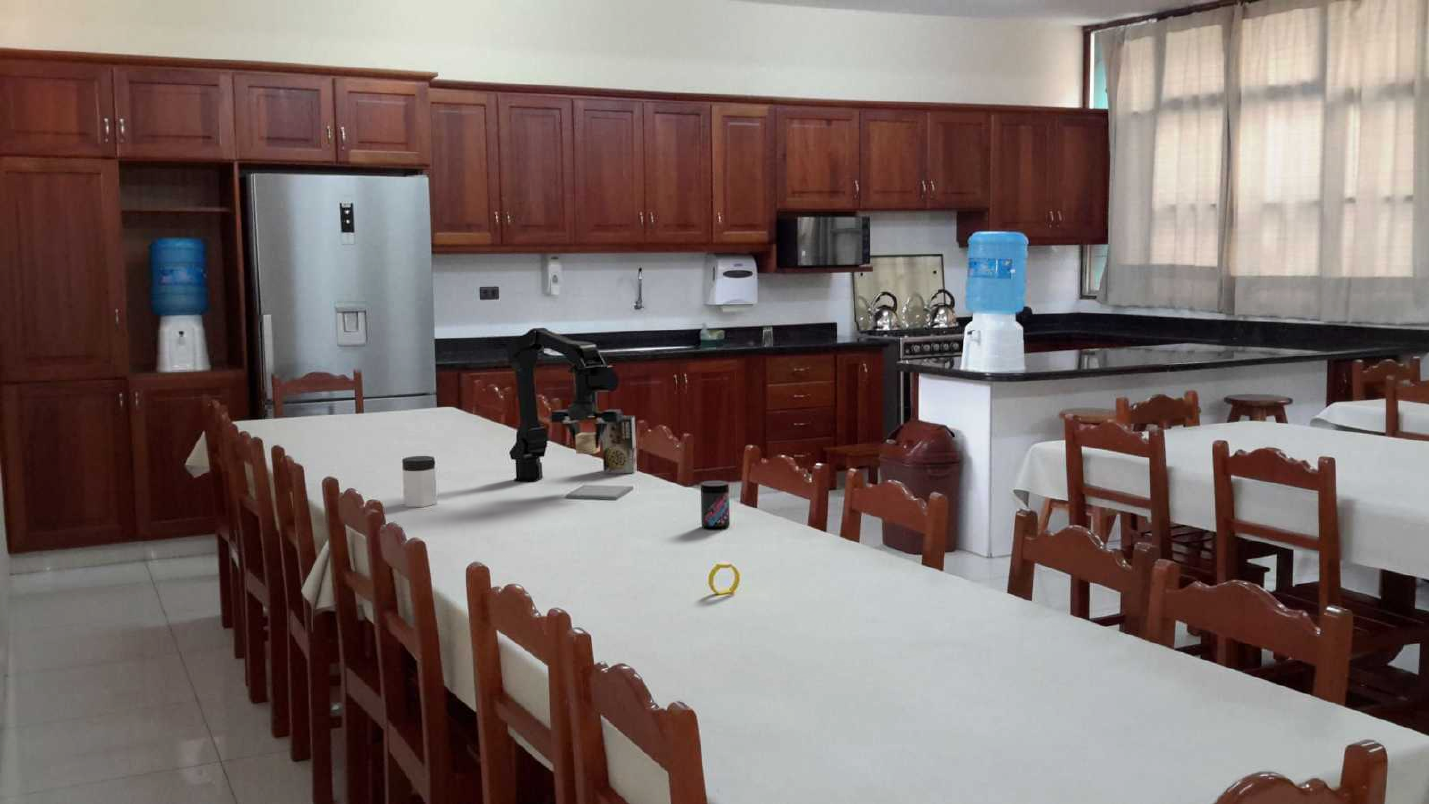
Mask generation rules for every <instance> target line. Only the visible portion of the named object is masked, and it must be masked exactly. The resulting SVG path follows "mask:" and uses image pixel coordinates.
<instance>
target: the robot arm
mask: <svg viewBox="0 0 1429 804" xmlns="http://www.w3.org/2000/svg"><path fill="white" fill-rule="evenodd" d="M544 348H547V349H549V350H552V351H554V352H556V353H559V354H561V355H563V356H564V358H565V360H566V361H567V362H569V363H570V364H572V366H571V367H570V368H569V369H568V370H567V372H568V374H573V382H574V383H573V386H574V387H573V388H574V395H573V397H572V398H573V399H572V403H571V404H570V405H569V406H568V408H567V409H557V410H554V411H552V412H551V413H550V423H562V422H563V423H562V424H561V425H562V426H565V427H566V428H567V429H568V430H569V432H570V434H571V435H572V438H573V440H574V443H575V444H576V438H575V435H577V434H580V433H581V429H580V427H581V425H580V422H584V421H587V420H597V422H596V423H594V427H595V433H596V448H599V445H600V446H601V442H602V436H603V433H604V431H605V429H606V427H607V425H608V424H610V423H611V422H618V421H620V420H623V416H624V414H623V411H622V410H621V409H606V410H604V411H602V412H599V407H598V406H597V405H598V404H597V403H598V402H597V401H598V400H597V398H598V396H599V394H598V392H610V393H612V392H615V391H616V390H617V388H618V387H619V384H620V378H619V376H618V374H617V372H616V371H615V370H614V368H613V365H607V364H606V362H605V360H604V358H603V357H602V355H601V353H600V351H599V349H598V348H597V345H596V344H595V343H593V342H590V341H589V342H588V341H580V340H572V339H569V338H568V337H566V336H563V335H560V334H558V333H556V332H554V331H551V330H549V329H548V328H545V327H534V328H531V329H529V330H528V331H527V332H526V333H525V334H522V335H521V336H519V337H516V338H515V339H514V340H511V341H510V342H509V344H508V345H507V346H506V354H507V360H508V363H509V365H510V366H511V368H512V369H513V370H514V371H513V372H515V379H516V389H517V390H516V391H517V399H518V401H517V402H518V407H519V408H518V409H519V410H518V411H519V418H520V420H519V421H520V424H519V426H518V429H517V430H516V435H515V437H516V438H515V444H514V445H513V446H512V447H511V449H510V450H509V453H508V454H509V456H510V460H514V461H515V478H513V481H514V482H537V481H539V480H541V479H543V478H544V475H543V463H542V462H541V458H544V457H545V454H546V450H547V448H548V442H549V438H548V428H547V427H546V426H542V424H541V423H540V421H539V414H538V413H539V412H538V403H537V402H538V401H537V394H536V382H535V373H534V370H535V368H536V366H537V363H538V361H539V353H540V351H542V350H543V349H544Z"/></svg>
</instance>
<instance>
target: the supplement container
mask: <svg viewBox="0 0 1429 804" xmlns="http://www.w3.org/2000/svg"><path fill="white" fill-rule="evenodd" d="M699 484H700V487H699V488H700V521H701V522H700V525H701V527H702V528H703V529H704V530H710V531H720V530H725V529H728V528H729V527H730V524H731V522H730V521H731V517H730V516H731V515H730V513H731V511H730V482H729V481H726V480H705V481H701V482H700V483H699Z"/></svg>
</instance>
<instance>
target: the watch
mask: <svg viewBox="0 0 1429 804" xmlns="http://www.w3.org/2000/svg"><path fill="white" fill-rule="evenodd" d="M729 568H731V569H732V571H733V573H734V581H733V584H732V585H731V586H730V588H729V589H727V590H719V591H717V589H716V588H715V585H714V577H715V575H716V574H717V572H718V571H719V570H720V569H729ZM740 580H741V579H740V573H739V571H738V569H737V567H736V566H734V565H732V562H731V561H724V560H723V561H718V562H716V566H714V567H713V568H712V569H711V571H710V572H709V574H708V586H709V588H710V590H711V591H712V592H713V593H715V594H717V595H718V596H721V595H726V594H733V593H734V592H735V591H736V590H737V589H738V587H739V583H740Z"/></svg>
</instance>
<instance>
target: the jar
mask: <svg viewBox="0 0 1429 804" xmlns="http://www.w3.org/2000/svg"><path fill="white" fill-rule="evenodd" d="M401 462H402V463H401V464H402V465H401V466H402V468H401V469H402V487H403V488H402V489H403V491H402V492H403V503H404V506H405V507H407V508H425V507H430V506H435V505H437V504H438V498H437V496H438V495H437V477H436V475H437V474H436V468H435V467H436V466H435V465H436V461H435V457H434V456H430V455H415V456H408V457H404V458H402V460H401Z"/></svg>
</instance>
